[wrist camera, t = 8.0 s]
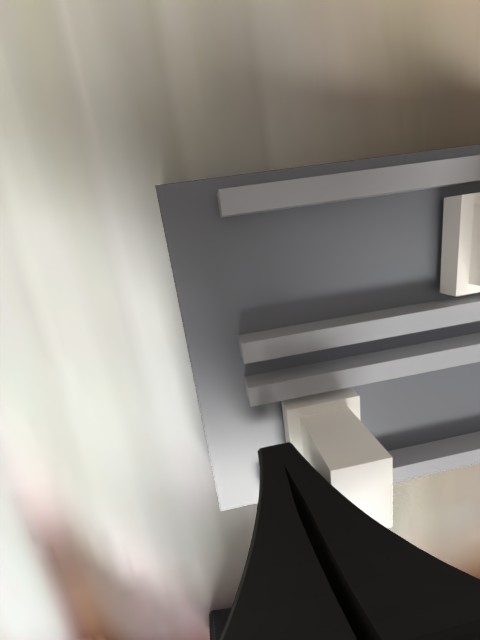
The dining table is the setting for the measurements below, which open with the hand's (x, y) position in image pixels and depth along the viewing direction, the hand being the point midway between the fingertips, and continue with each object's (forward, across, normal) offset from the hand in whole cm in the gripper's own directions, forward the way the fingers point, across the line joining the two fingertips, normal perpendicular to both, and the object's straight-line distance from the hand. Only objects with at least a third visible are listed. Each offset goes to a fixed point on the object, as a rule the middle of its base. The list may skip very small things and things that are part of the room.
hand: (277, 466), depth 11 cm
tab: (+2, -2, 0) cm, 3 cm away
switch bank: (+4, -5, -4) cm, 8 cm away
